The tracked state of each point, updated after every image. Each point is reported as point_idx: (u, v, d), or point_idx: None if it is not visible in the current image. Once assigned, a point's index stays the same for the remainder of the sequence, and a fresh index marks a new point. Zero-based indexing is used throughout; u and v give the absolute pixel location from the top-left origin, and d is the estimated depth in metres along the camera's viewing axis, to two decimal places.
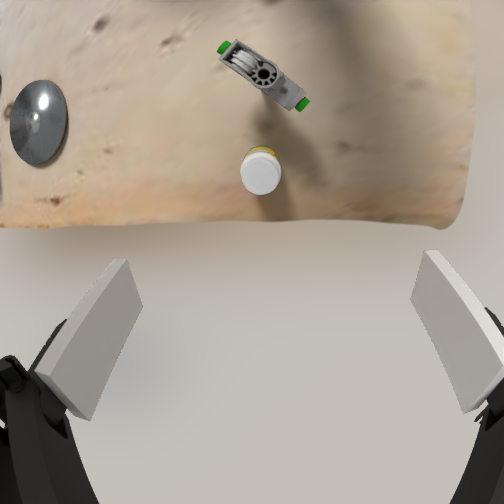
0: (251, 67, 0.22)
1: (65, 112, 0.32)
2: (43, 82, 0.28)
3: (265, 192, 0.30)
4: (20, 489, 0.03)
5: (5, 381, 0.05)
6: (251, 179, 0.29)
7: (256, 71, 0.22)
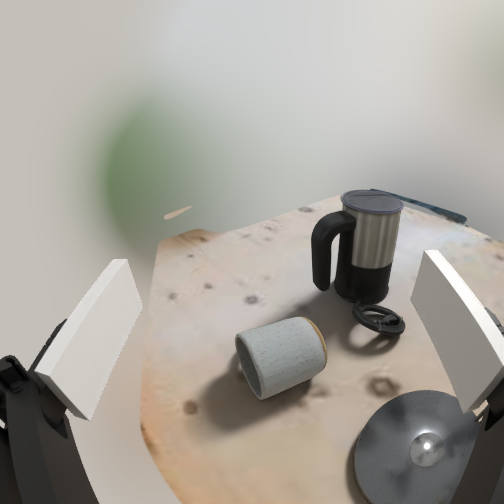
0: None
1: None
2: (473, 415, 0.19)
3: None
4: (20, 489, 0.03)
5: (5, 381, 0.05)
6: None
7: None
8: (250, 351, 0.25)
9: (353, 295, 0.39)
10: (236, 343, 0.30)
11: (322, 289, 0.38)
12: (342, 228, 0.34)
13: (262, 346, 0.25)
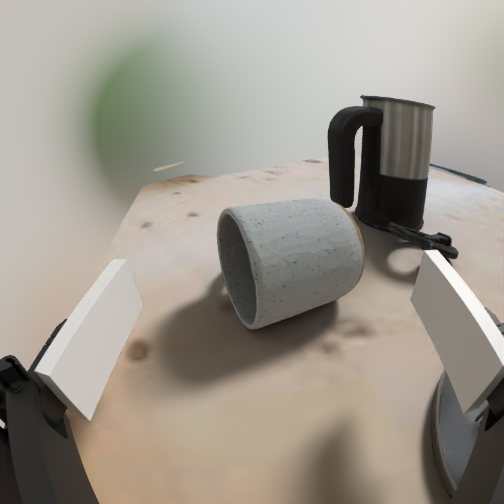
0: None
1: None
2: None
3: None
4: (20, 489, 0.03)
5: (5, 381, 0.05)
6: None
7: None
8: (238, 220, 0.15)
9: (383, 219, 0.29)
10: (219, 242, 0.20)
11: (343, 204, 0.28)
12: (367, 118, 0.24)
13: (259, 215, 0.15)
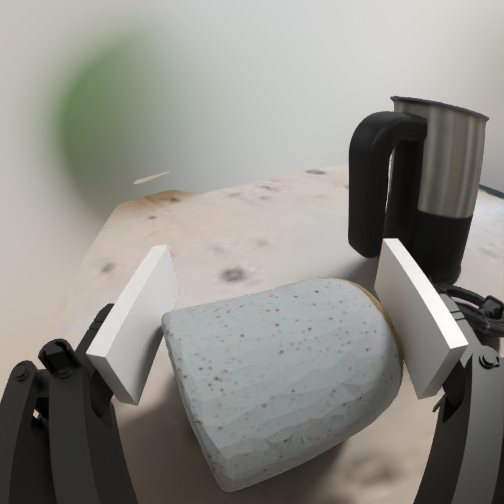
0: None
1: None
2: None
3: None
4: (55, 481, 0.03)
5: (51, 365, 0.06)
6: None
7: None
8: (177, 369, 0.07)
9: None
10: None
11: (367, 254, 0.19)
12: (407, 131, 0.15)
13: (220, 354, 0.07)
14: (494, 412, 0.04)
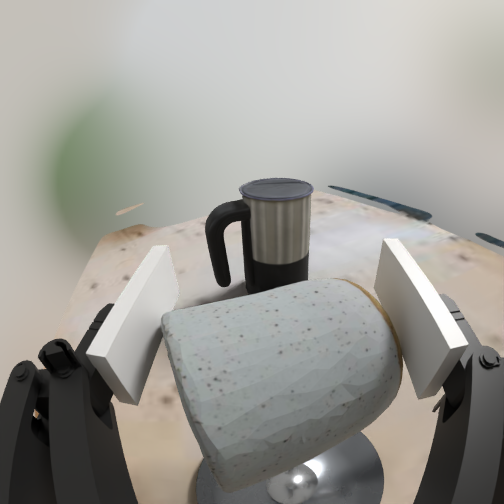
0: None
1: None
2: (374, 452, 0.17)
3: None
4: (55, 481, 0.03)
5: (51, 364, 0.06)
6: None
7: None
8: (176, 369, 0.07)
9: None
10: None
11: (221, 285, 0.36)
12: (233, 218, 0.32)
13: (219, 354, 0.07)
14: (494, 413, 0.04)
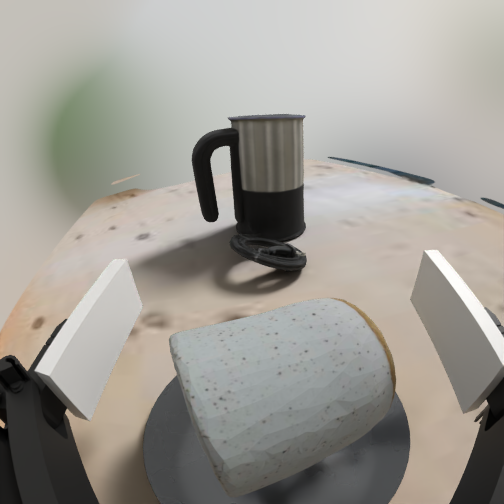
0: None
1: None
2: None
3: None
4: (20, 489, 0.03)
5: (5, 381, 0.05)
6: None
7: None
8: (185, 390, 0.07)
9: (250, 230, 0.34)
10: None
11: (207, 219, 0.33)
12: (220, 141, 0.29)
13: (224, 376, 0.08)
14: None
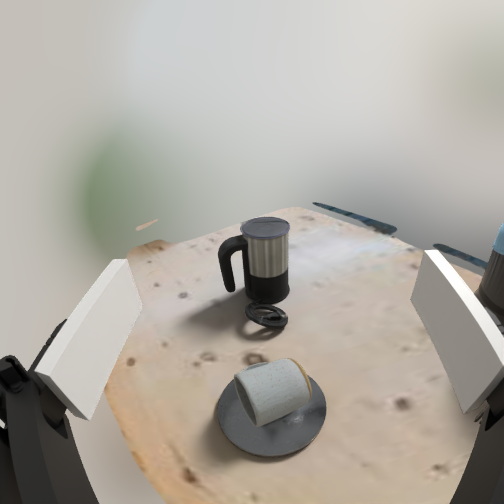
0: None
1: (310, 441, 0.29)
2: (320, 392, 0.36)
3: None
4: (20, 489, 0.03)
5: (5, 381, 0.05)
6: None
7: None
8: (247, 392, 0.29)
9: (255, 296, 0.55)
10: (234, 380, 0.34)
11: (228, 291, 0.54)
12: (236, 248, 0.50)
13: (257, 388, 0.29)
14: None
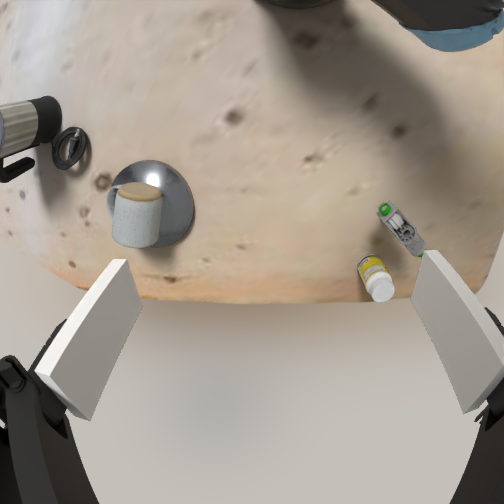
0: (399, 227, 0.34)
1: (192, 204, 0.43)
2: (161, 166, 0.40)
3: (384, 301, 0.41)
4: (20, 489, 0.03)
5: (5, 381, 0.05)
6: (377, 294, 0.41)
7: (403, 232, 0.34)
8: (131, 247, 0.38)
9: (46, 140, 0.37)
10: None
11: (33, 166, 0.38)
12: (1, 169, 0.29)
13: (131, 240, 0.38)
14: None
